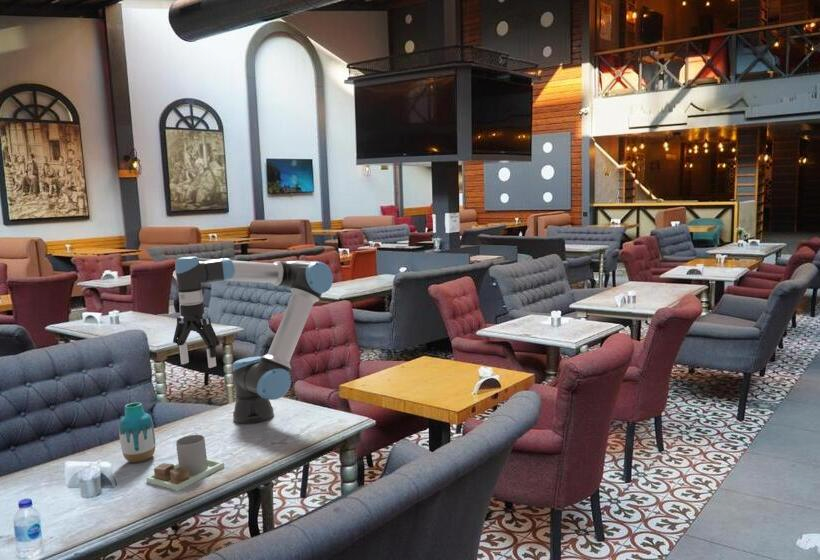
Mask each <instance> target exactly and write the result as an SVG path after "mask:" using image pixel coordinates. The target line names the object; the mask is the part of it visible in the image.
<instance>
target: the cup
mask: <svg viewBox="0 0 820 560" xmlns="http://www.w3.org/2000/svg"><path fill="white" fill-rule="evenodd" d="M175 444H176V453H177V454H176V455H177V461H178V462H179V467H182V466H183V467H185V468H186V469H188V470H189V476H195V475H197V474H199V473H201V472H203V471H205V470H207V469H208V464H207V459H208V457H207V448H206V441H205V436H204V435H202V434H191V435H186V436H183V437H180V438H178V440H176V443H175ZM178 462H177V463H178Z"/></svg>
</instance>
